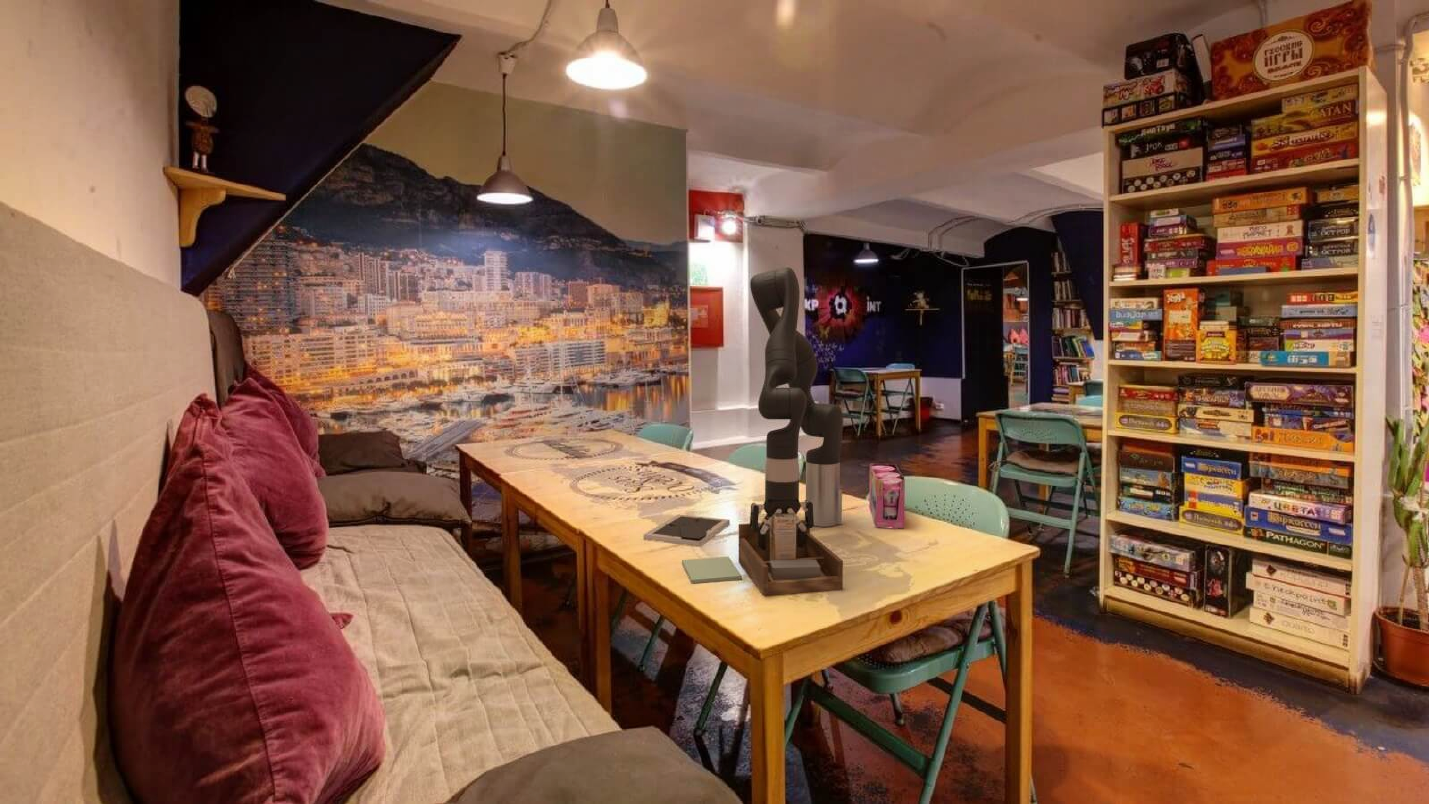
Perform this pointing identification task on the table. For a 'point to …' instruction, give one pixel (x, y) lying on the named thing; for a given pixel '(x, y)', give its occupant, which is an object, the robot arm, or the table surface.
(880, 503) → the gum box
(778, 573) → the upper offcut
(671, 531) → the picture frame
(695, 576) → the pad
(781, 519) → the supplement box
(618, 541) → the table surface
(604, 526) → the table surface
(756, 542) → the rack
